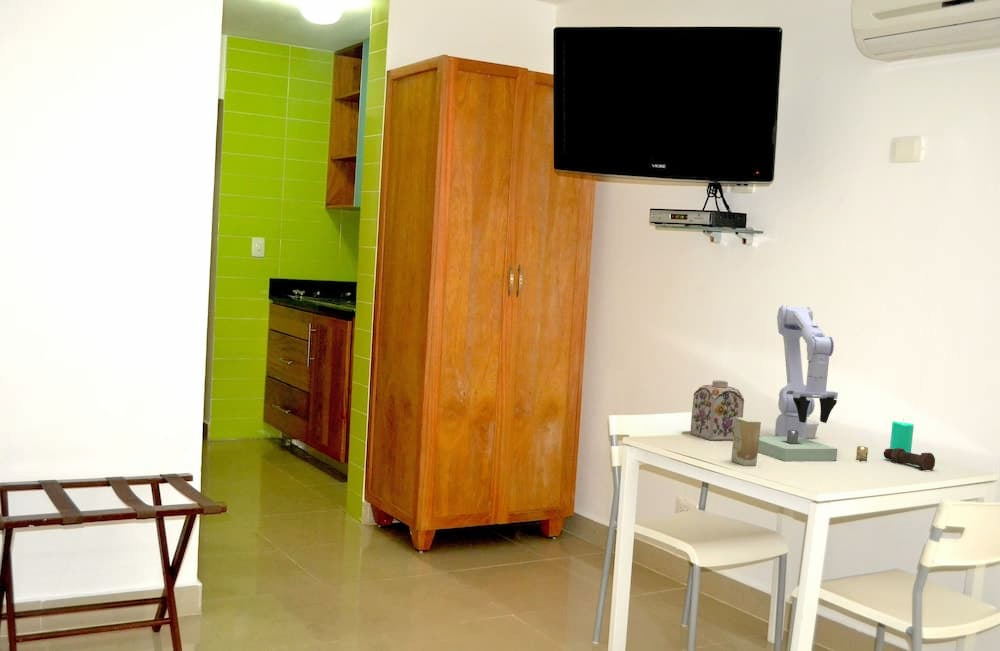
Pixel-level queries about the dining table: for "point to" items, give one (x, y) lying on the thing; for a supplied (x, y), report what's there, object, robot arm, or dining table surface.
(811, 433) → the ramekin
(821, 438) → the dining table surface
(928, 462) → the bolt
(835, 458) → the collar plate
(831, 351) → the robot arm
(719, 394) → the decorative jar
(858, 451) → the short pin
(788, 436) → the tall pin
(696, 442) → the dining table surface
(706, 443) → the dining table surface
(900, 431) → the candle
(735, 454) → the skincare box
